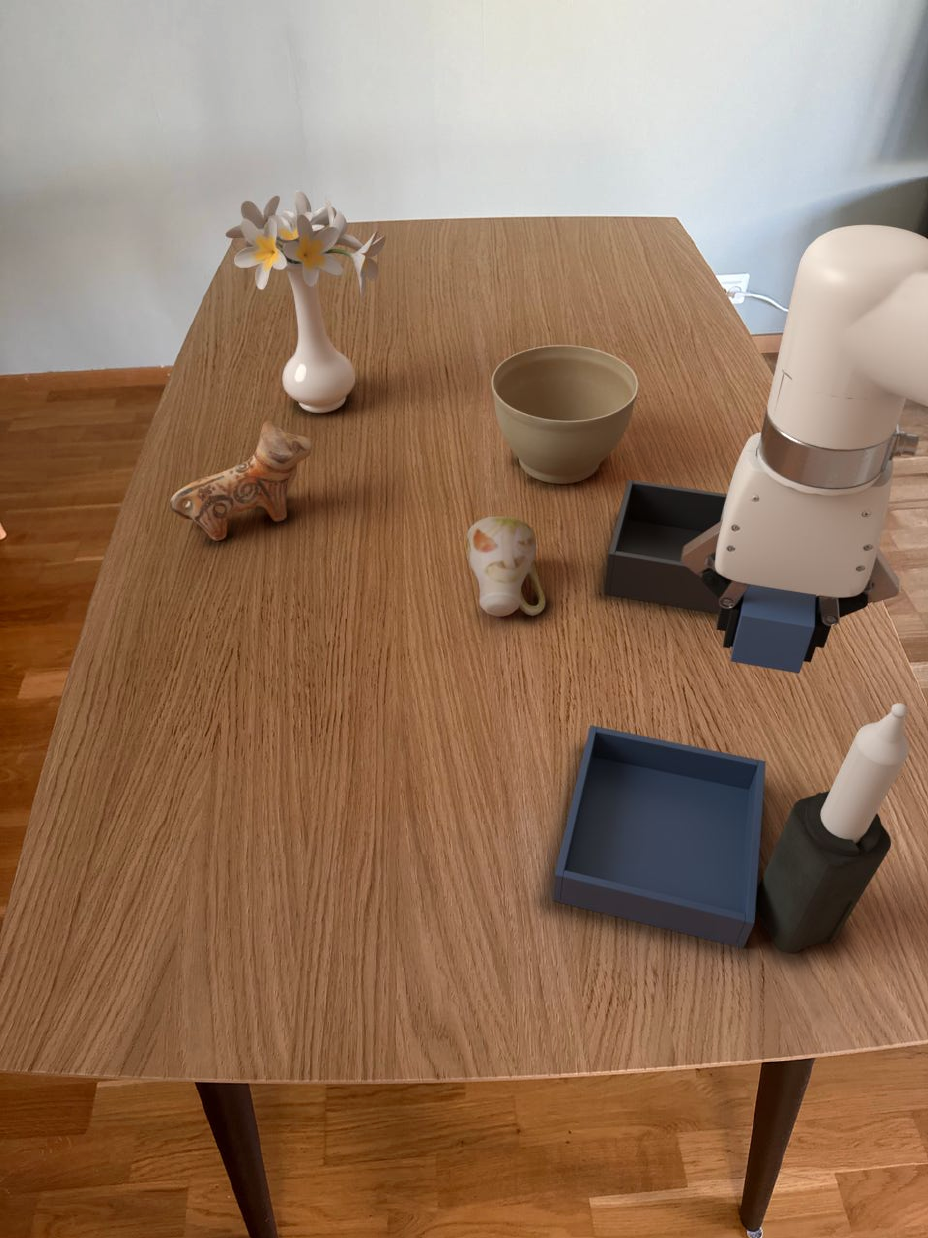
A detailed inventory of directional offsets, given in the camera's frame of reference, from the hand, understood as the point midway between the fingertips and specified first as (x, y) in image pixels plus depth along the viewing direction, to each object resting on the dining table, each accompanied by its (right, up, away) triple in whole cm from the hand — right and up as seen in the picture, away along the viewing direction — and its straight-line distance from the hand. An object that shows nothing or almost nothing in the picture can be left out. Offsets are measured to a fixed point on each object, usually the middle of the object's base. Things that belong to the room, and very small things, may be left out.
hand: (767, 640), depth 69 cm
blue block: (0, 0, 0) cm, 0 cm away
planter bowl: (-12, +20, +39) cm, 46 cm away
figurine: (-47, +13, +33) cm, 59 cm away
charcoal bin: (-1, +7, +26) cm, 27 cm away
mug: (-19, +4, +24) cm, 31 cm away
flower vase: (-41, +30, +50) cm, 71 cm away
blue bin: (-8, -16, +3) cm, 18 cm away
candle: (+2, -21, -1) cm, 21 cm away
